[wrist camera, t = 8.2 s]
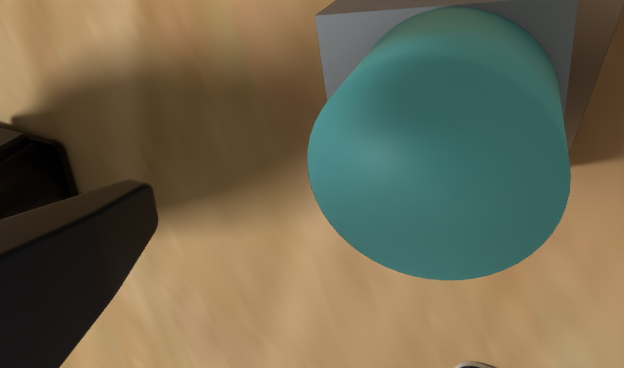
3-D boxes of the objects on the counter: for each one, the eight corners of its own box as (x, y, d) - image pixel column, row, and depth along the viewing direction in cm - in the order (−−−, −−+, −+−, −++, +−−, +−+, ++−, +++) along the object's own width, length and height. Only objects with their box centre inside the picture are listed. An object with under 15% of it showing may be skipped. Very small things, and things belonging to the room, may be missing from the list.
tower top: (548, 174, 17) (551, 225, 14) (364, 166, 19) (342, 209, 17) (569, -29, 14) (578, -6, 11) (345, -8, 16) (314, 15, 14)
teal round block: (532, 207, 14) (533, 304, 11) (352, 175, 16) (309, 251, 13) (587, 15, 11) (609, 73, 8) (358, -1, 13) (304, 43, 10)
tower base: (547, 162, 20) (550, 203, 17) (355, 126, 22) (335, 158, 20) (624, -58, 15) (641, -43, 13) (373, -76, 17) (349, -66, 15)
